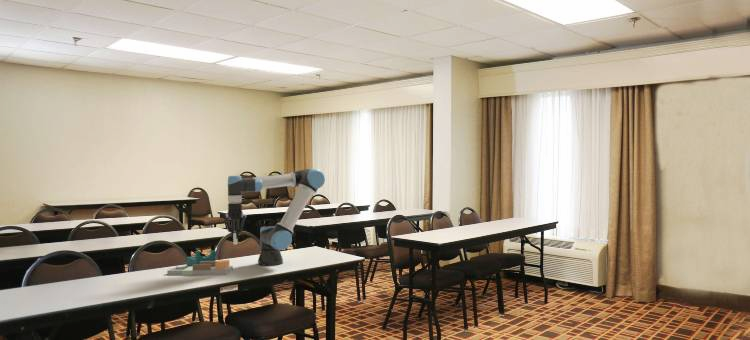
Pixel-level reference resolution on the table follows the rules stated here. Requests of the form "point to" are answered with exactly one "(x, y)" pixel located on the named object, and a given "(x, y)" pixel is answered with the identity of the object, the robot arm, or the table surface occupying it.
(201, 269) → the deck
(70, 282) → the table surface
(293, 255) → the table surface
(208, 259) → the teal l-shaped bracket
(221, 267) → the block
